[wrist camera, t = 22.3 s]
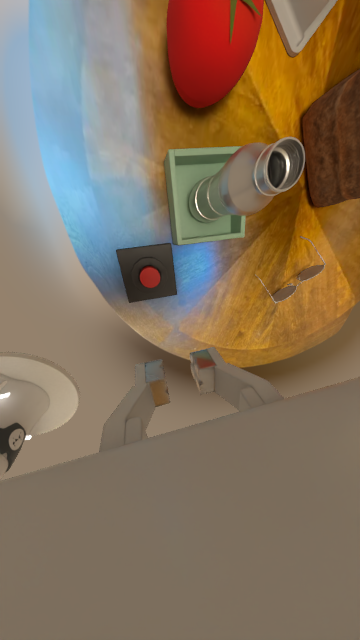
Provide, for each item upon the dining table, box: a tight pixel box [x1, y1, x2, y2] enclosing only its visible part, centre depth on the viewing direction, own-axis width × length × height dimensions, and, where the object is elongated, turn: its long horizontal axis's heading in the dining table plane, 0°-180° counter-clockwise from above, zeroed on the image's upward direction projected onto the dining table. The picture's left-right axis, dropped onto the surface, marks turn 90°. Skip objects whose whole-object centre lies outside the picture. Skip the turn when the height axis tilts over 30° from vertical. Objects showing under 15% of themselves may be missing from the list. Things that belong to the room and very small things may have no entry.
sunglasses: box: [258, 236, 326, 303], centre depth 41 cm, size 14×8×5 cm, turn 129°
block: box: [116, 243, 177, 303], centre depth 34 cm, size 10×10×4 cm
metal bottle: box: [189, 137, 305, 223], centre depth 23 cm, size 6×7×20 cm
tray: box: [164, 146, 245, 245], centre depth 31 cm, size 13×13×5 cm
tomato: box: [167, 0, 264, 108], centre depth 21 cm, size 10×11×11 cm
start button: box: [140, 266, 160, 288], centre depth 32 cm, size 4×4×2 cm
